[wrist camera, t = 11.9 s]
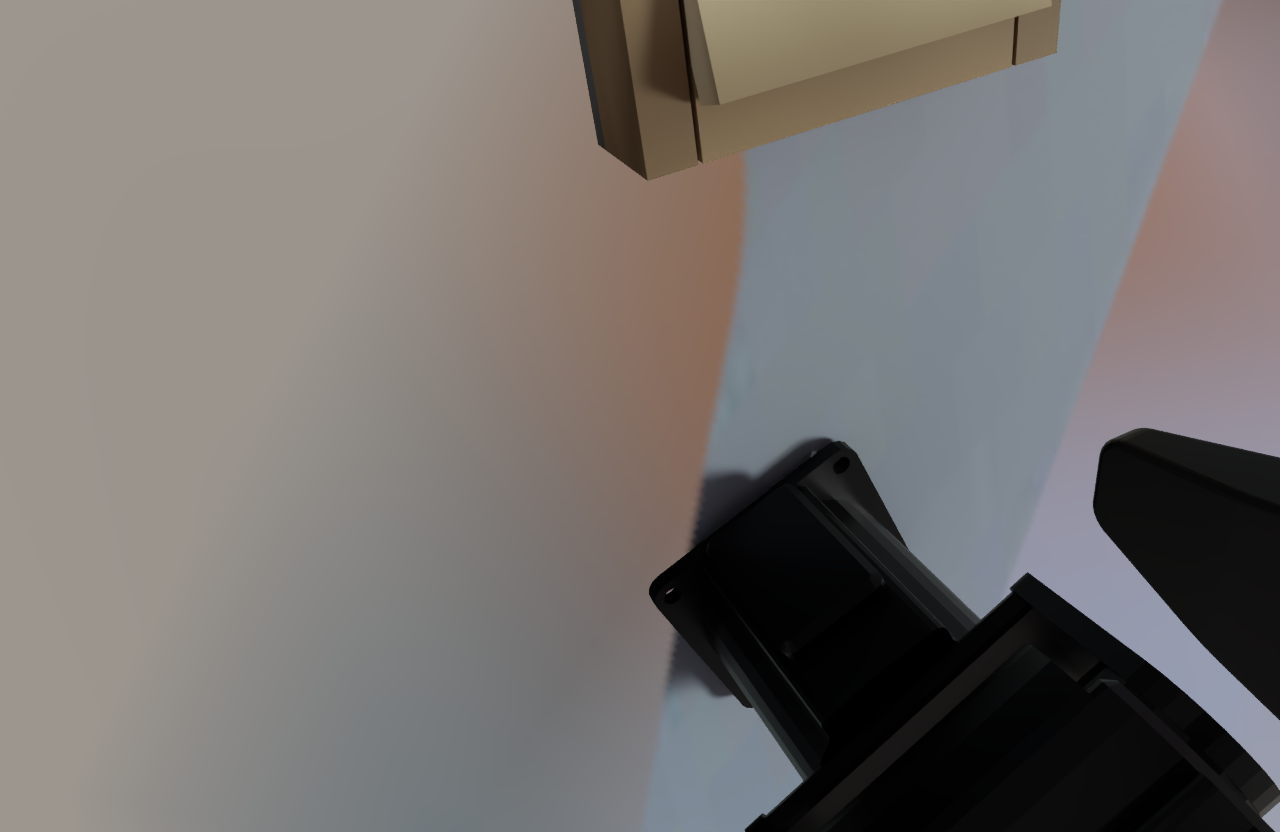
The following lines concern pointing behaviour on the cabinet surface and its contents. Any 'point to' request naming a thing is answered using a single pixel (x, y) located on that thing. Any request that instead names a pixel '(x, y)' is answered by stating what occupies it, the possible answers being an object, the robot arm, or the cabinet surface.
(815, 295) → the cabinet surface
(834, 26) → the wooden tray
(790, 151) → the cabinet surface
